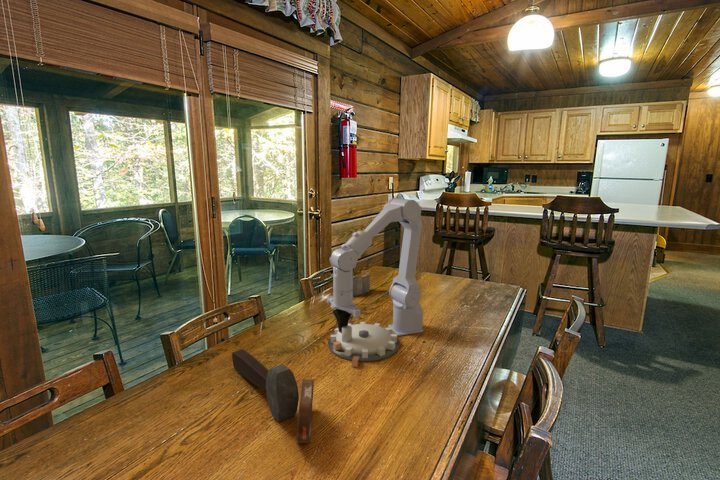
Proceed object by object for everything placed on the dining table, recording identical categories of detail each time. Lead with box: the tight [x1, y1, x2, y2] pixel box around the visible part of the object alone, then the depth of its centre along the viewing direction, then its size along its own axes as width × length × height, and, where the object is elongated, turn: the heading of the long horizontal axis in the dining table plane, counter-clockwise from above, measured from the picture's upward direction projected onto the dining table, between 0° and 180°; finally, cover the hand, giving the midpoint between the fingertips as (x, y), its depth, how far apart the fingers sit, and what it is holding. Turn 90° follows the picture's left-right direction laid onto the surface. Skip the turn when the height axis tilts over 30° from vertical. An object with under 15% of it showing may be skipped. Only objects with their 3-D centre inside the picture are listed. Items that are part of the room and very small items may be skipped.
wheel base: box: [327, 333, 400, 368], centre depth 114 cm, size 22×24×2 cm
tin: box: [296, 378, 315, 444], centre depth 78 cm, size 15×3×8 cm, turn 5°
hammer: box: [231, 348, 300, 423], centre depth 91 cm, size 5×11×30 cm
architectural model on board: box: [353, 269, 371, 297], centre depth 159 cm, size 11×3×10 cm, turn 132°
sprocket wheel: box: [330, 321, 398, 358], centre depth 114 cm, size 20×20×6 cm
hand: (343, 331), depth 113 cm, fingers closed, pressing on sprocket wheel
